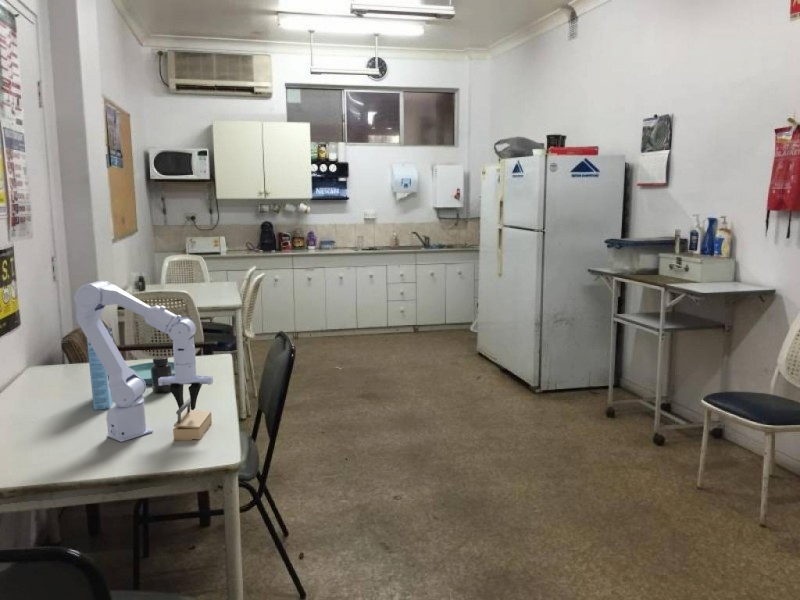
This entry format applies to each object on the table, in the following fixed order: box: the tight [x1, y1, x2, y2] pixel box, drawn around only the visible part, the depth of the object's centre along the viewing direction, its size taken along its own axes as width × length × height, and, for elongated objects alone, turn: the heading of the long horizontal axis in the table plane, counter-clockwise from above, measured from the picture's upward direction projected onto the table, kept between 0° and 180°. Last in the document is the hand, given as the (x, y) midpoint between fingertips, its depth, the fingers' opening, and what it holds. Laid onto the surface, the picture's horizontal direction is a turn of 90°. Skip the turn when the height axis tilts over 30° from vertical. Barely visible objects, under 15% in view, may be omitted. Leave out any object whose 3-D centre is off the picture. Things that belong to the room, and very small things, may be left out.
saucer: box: [128, 361, 175, 385], centre depth 229 cm, size 24×24×3 cm
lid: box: [173, 397, 212, 429], centre depth 171 cm, size 7×13×4 cm, turn 3°
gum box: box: [86, 327, 114, 411], centre depth 200 cm, size 20×5×23 cm, turn 17°
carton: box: [172, 413, 213, 442], centre depth 172 cm, size 7×13×3 cm, turn 3°
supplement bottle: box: [151, 355, 172, 395], centre depth 210 cm, size 7×7×12 cm
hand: (187, 409), depth 171 cm, fingers open, 3 cm apart
